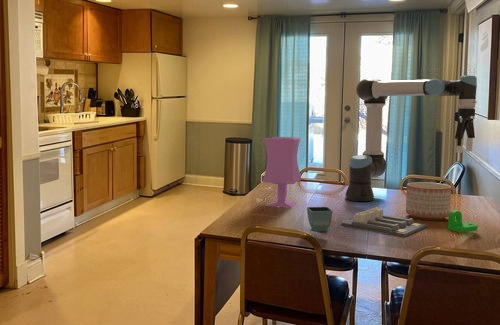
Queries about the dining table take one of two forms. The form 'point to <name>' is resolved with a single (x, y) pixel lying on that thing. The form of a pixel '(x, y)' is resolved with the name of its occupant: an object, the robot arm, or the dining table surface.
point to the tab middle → (370, 214)
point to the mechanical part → (459, 223)
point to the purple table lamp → (282, 166)
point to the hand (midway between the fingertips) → (464, 151)
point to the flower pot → (319, 218)
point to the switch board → (388, 225)
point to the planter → (428, 200)
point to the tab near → (361, 217)
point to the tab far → (378, 212)
